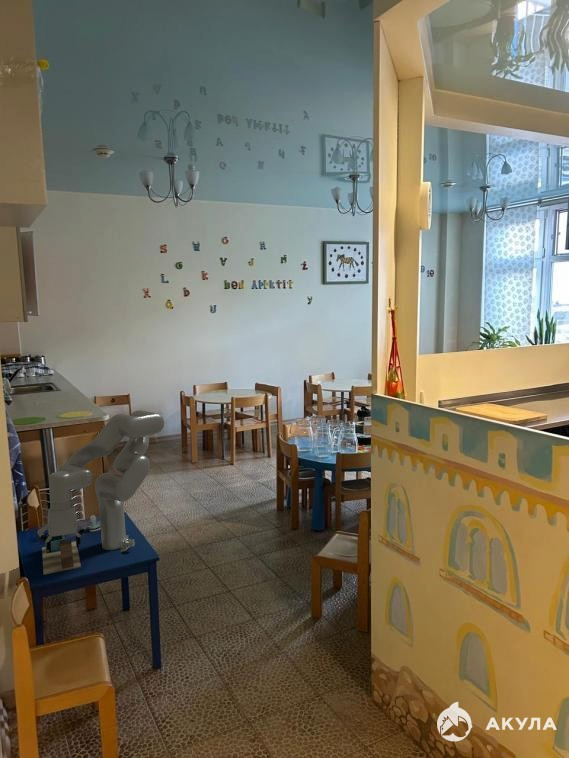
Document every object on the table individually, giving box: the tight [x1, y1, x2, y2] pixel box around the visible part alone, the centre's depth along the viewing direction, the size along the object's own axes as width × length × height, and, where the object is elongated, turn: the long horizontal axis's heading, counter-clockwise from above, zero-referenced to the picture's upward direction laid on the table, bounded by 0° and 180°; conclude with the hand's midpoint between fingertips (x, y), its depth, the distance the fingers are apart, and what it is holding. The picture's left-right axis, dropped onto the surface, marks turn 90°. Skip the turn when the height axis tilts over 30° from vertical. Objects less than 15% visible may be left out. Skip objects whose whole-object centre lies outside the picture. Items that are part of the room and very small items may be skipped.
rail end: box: [60, 539, 74, 569], centre depth 214 cm, size 4×4×9 cm
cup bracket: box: [44, 535, 66, 554], centre depth 223 cm, size 14×7×10 cm, turn 24°
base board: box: [41, 540, 82, 576], centre depth 221 cm, size 24×13×2 cm, turn 24°
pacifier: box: [86, 514, 101, 533], centre depth 249 cm, size 7×6×6 cm
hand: (63, 548), depth 212 cm, fingers open, 9 cm apart
